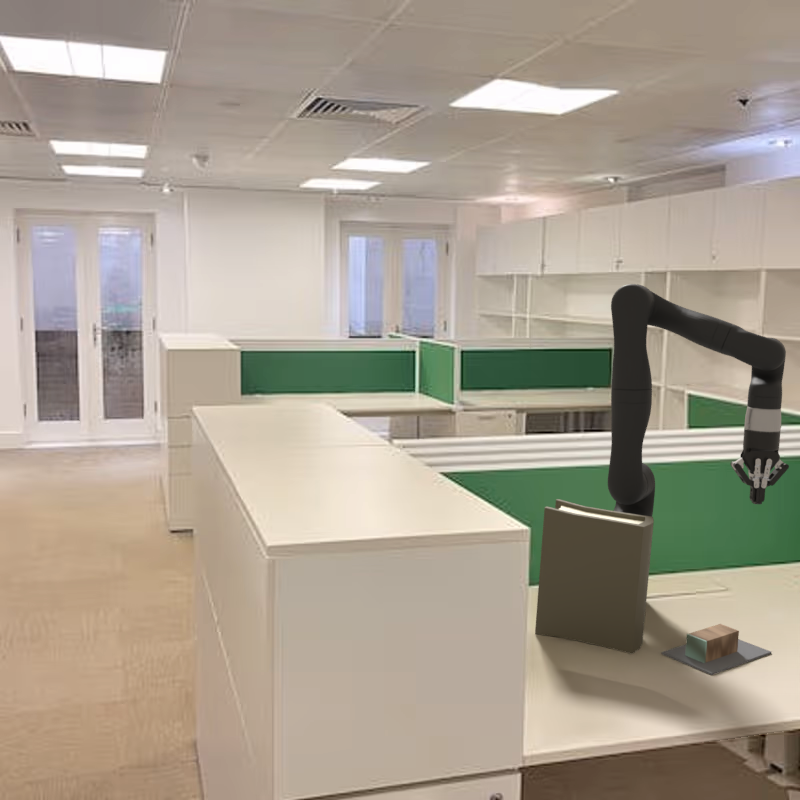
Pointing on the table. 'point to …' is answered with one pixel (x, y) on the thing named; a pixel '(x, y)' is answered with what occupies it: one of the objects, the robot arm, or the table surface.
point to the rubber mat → (742, 656)
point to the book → (594, 575)
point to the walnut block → (711, 643)
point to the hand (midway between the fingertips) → (756, 503)
